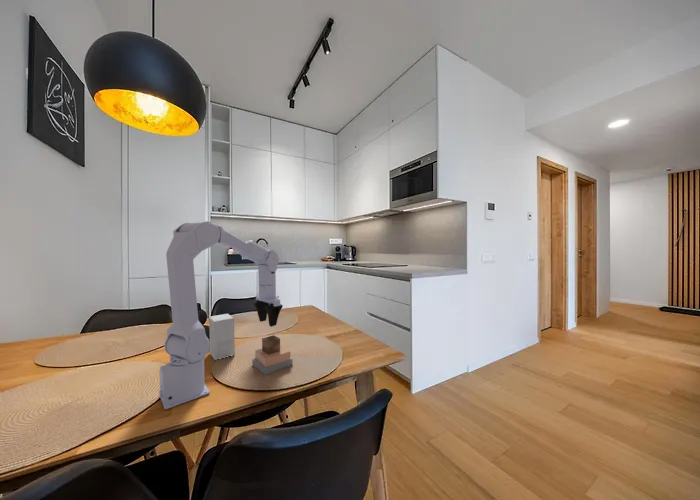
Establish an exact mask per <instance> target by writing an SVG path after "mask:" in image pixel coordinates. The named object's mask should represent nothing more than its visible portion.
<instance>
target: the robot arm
mask: <svg viewBox="0 0 700 500" xmlns="http://www.w3.org/2000/svg"><path fill="white" fill-rule="evenodd" d="M172 233H173V234H172V235H173V237H172V239H171V241H170V242H169V243H170V244H169V246H168V248H167V250H166V253H165V254H166V266H167V267H166V268H167V276H168V287H169V297H170V298H169V299H170V307H171V319H172V324H171V325H170V326H169V327H168V329H166V332H167V333H166V335H167V336H166V339H165V341H164V346H163V347H164V351H165V353H167V354H168V355H169V358H170V362H168V363H166V364H163V365H160V366H159V393H158V394H159V398H160V401H161V404H162V405H163V409H164V410H168V409H171V408H174V407H176V406H180V405H182V404H186V403H187V402H190V401H192V400H196V399H199V398H202V397H204V396H206V395H208V394H211V391H210V389H209V388H208V387H207V385H206V383H205V359H206V355H208V352H210V338H208V336H207V333H206V329H205V327H204V325H203V324H202V323H201V322H200V320H199V313H198V300H197V290H196V279H195V266H194V265H195V264H194V259H195V258H196V257H197V256H199V254H201V253H202V252H203V251H205V250H207V249H208V248H212V247H213V246H215V245H216V244H217V243H218V244H220V245H223V246H226V247H228V248H230V249H234V250H236V251H239V255H240V256H241V257H242V258H244V259H247V260H249V261H252V262H254V264H255V265H256V266H257V267H258V268H257V275H258V278H257V279H258V294H255V300H256V301H254V302H252V304H253V306H254V308H255V310H256V312H257V313H256V314H257V316H258V319H259V320H258V321H259V322H260V323H261V322H265V321H267V318H268V325H269V327H274V326H277V323H278V319H279V315H280V312H281V310H282V308H283V307H284V305H283V304H282V303H281V299H279V298H280V295H278V294H277V289H276V288H277V287H276V285H277V283H276V282H277V280H276V273H277V272H276V271H277V269H278V264H279V262H280V257H279V254H278V253H277V252H276V251H275V250H273V249H268V248H267V247H266V246H265V245H264V246H263V245H260V244H259V243H257V241H256V240H255V239H254V240H253V239H251V240H250V239H248V240H245V241H244V240H243V239H241V238H240V237H237V236H236V235H235V234H233V233H231V232H229V231H228V230H227V229H225V228H223V226H222V225H218V224H216V223H215V222H212V221H208V220H207V221H202V222H183V223H181V224H180V225H179V226H178V227H177V228H175V229H174V230H173V231H172Z"/></svg>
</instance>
